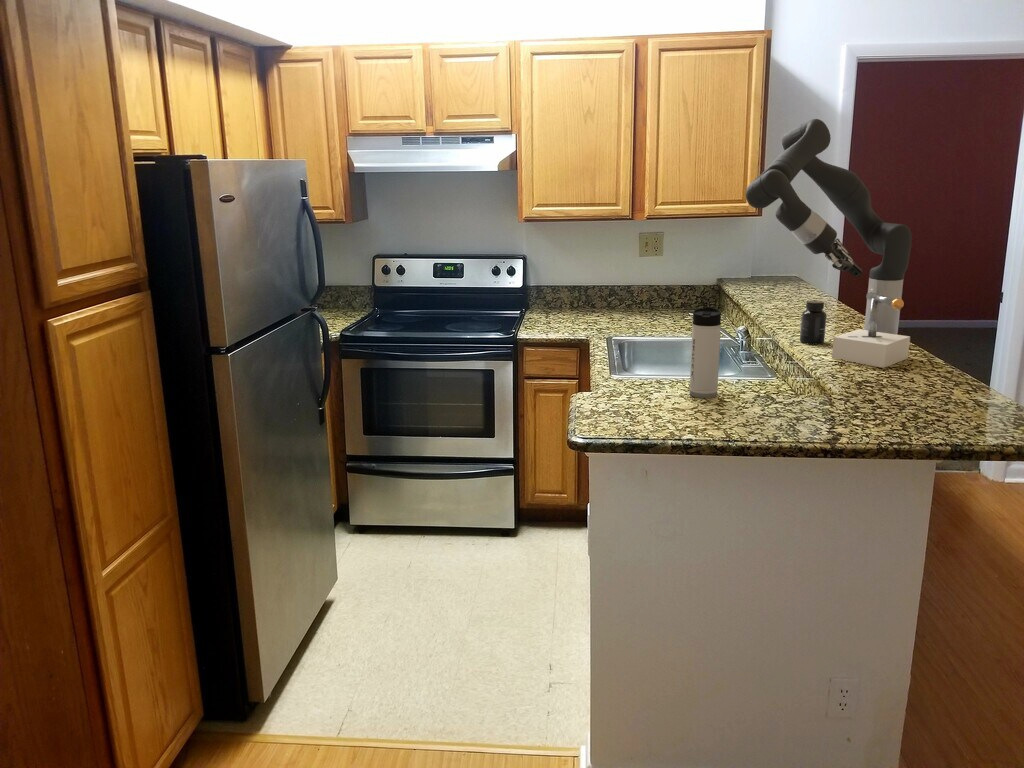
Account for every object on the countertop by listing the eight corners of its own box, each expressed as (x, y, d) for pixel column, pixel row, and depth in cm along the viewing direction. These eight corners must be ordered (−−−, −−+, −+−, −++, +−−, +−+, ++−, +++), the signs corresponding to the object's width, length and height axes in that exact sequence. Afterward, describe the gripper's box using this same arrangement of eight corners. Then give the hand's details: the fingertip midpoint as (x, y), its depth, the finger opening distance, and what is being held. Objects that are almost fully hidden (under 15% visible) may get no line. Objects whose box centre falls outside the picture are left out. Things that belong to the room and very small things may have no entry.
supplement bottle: (826, 345, 231) (829, 304, 227) (801, 344, 232) (804, 303, 229) (822, 340, 237) (825, 300, 234) (798, 339, 238) (801, 299, 235)
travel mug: (718, 391, 187) (722, 307, 182) (715, 399, 181) (720, 312, 176) (691, 389, 189) (694, 306, 184) (687, 397, 183) (691, 311, 178)
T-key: (861, 333, 215) (865, 290, 212) (870, 333, 215) (875, 290, 212) (891, 345, 201) (896, 299, 198) (901, 344, 202) (906, 299, 199)
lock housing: (856, 350, 224) (858, 328, 222) (907, 358, 213) (910, 336, 212) (831, 358, 215) (833, 336, 213) (883, 367, 205) (886, 344, 203)
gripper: (826, 233, 194) (874, 278, 198) (823, 210, 204) (869, 253, 208) (801, 253, 198) (849, 296, 202) (799, 229, 208) (845, 271, 212)
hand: (859, 274), depth 205 cm, fingers closed
